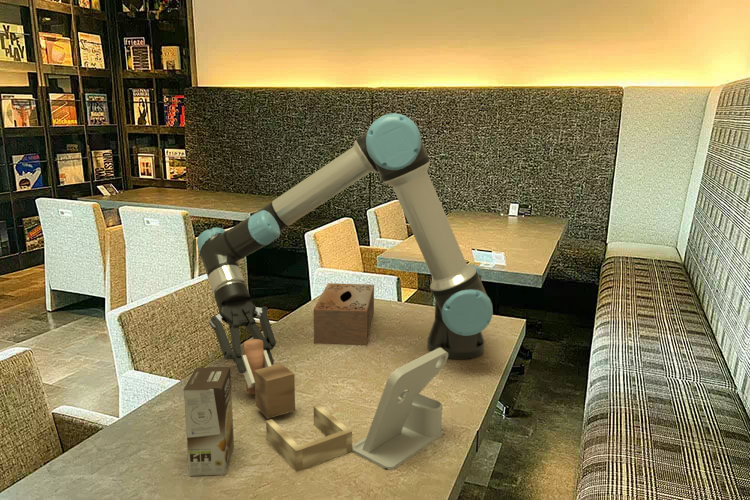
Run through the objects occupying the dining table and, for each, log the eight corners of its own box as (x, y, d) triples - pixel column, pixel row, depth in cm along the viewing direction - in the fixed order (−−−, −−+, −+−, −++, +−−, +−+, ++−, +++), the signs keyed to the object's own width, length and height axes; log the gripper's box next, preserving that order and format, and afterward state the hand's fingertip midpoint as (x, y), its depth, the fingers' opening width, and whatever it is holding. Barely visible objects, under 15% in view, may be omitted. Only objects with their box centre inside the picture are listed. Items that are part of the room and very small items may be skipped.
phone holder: (406, 415, 118) (408, 333, 114) (447, 433, 112) (451, 346, 108) (348, 450, 106) (348, 359, 102) (391, 472, 99) (392, 376, 95)
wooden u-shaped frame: (266, 440, 109) (265, 421, 108) (319, 422, 115) (318, 404, 114) (296, 472, 99) (296, 451, 98) (352, 451, 105) (352, 431, 104)
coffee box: (226, 475, 98) (222, 388, 94) (188, 477, 97) (182, 389, 94) (235, 445, 107) (231, 365, 103) (199, 447, 106) (194, 366, 103)
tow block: (239, 389, 126) (236, 342, 123) (264, 382, 129) (262, 336, 127) (268, 418, 114) (266, 366, 111) (295, 410, 117) (294, 359, 115)
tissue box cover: (366, 346, 155) (366, 311, 153) (314, 344, 156) (313, 309, 154) (373, 315, 180) (374, 284, 178) (328, 313, 181) (328, 283, 179)
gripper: (259, 291, 139) (292, 379, 130) (189, 303, 130) (219, 399, 120) (268, 275, 134) (303, 366, 124) (195, 286, 124) (227, 385, 115)
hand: (262, 382), depth 122 cm, fingers closed on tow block, 4 cm apart
